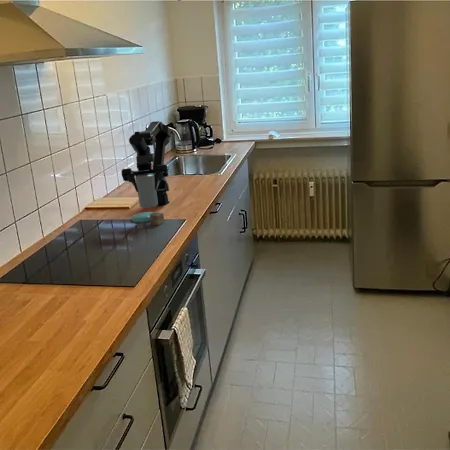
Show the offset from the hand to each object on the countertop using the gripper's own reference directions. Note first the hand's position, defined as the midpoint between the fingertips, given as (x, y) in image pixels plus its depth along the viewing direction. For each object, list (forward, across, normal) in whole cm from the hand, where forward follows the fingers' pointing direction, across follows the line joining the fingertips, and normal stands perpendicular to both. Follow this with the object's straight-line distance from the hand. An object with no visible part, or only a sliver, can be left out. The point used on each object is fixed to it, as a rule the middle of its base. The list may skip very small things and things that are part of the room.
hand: (146, 190), depth 207 cm
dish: (+6, -3, +13) cm, 14 cm away
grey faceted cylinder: (+4, 0, +6) cm, 7 cm away
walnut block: (+12, +3, +7) cm, 14 cm away
